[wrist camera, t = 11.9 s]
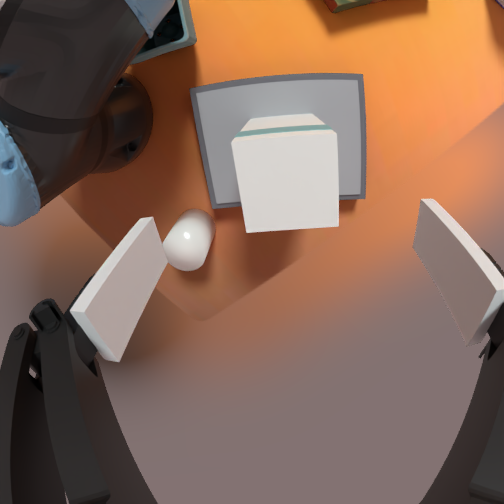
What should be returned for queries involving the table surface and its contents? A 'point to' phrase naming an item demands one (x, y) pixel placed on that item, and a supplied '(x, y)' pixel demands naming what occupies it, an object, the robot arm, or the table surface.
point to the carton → (346, 4)
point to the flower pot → (170, 33)
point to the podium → (277, 104)
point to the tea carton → (287, 173)
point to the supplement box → (500, 3)
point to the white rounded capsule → (189, 240)
